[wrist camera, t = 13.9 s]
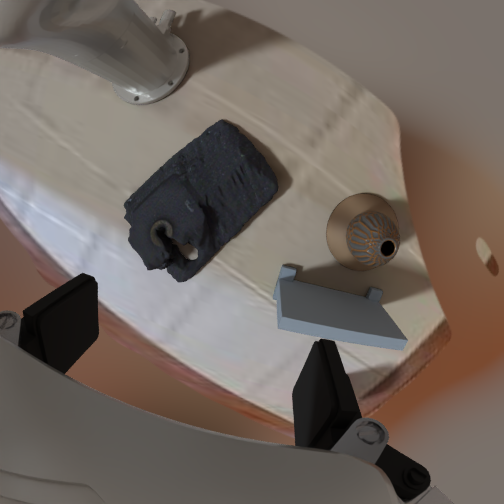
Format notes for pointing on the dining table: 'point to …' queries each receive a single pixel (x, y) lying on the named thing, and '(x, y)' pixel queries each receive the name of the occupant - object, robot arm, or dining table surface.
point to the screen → (334, 313)
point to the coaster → (341, 221)
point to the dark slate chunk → (198, 200)
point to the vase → (372, 238)
